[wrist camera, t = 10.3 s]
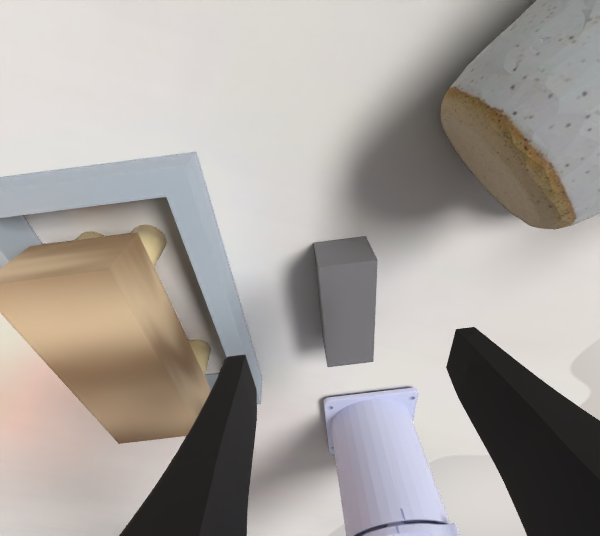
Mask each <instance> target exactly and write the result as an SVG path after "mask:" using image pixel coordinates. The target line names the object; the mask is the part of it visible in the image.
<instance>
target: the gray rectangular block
mask: <svg viewBox="0 0 600 536" xmlns="http://www.w3.org/2000/svg"><path fill="white" fill-rule="evenodd" d="M314 250H315V261H316V271H317V281H318V291H319V302H320V312H321V322H322V333H323V341H324V348H325V354H326V360H327V367H333V366H342V365H350V364H359V363H367V362H373V355H374V330H375V306H376V281H377V258H376V256H375V254H374V252H373V250H372V248H371V246H370V244H369V242H368V240H367V238H366V236H365V237H357V238H349V239H341V240H333V241H325V242H317V243H314Z"/></svg>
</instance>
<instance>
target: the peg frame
mask: <svg viewBox="0 0 600 536" xmlns="http://www.w3.org/2000/svg"><path fill="white" fill-rule="evenodd" d="M161 197H166V198H167V200H168V203H169V206H170V208H171V211H172V214H173V216H174V219H175V222H176V224H177V227H178V230H179V232H180V235H181V238H182V240H183V243H184V246H185V248H186V251H187V253H188V256H189V259H190V261H191V264H192V267H193V269H194V272H195V275H196V277H197V280H198V283H199V285H200V288H201V291H202V293H203V296H204V299H205V301H206V304H207V307H208V309H209V312H210V315H211V317H212V320H213V323H214V325H215V328H216V331H217V333H218V336H219V339H220V341H221V344H222V347H223V349H224V352H225V355H226V357H228V356H236V355H246V358H247V361H248V364H249V367H250V370H251V373H252V377H253V380H254V383H255V386H256V389H257V404H261V392H262V376H261V372H260V369H259V365H258V362H257V359H256V355H255V352H254V348H253V345H252V341H251V338H250V335H249V331H248V328H247V324H246V321H245V317H244V314H243V311H242V307H241V304H240V300H239V297H238V293H237V290H236V287H235V283H234V280H233V276H232V273H231V269H230V266H229V263H228V259H227V256H226V252H225V249H224V245H223V242H222V239H221V235H220V232H219V228H218V225H217V221H216V218H215V215H214V211H213V208H212V204H211V201H210V197H209V194H208V191H207V187H206V184H205V180H204V177H203V173H202V170H201V167H200V163H199V160H198V156H197V153H196V152H192V153H184V154H177V155H169V156H161V157H154V158H146V159H138V160H130V161H123V162H115V163H107V164H100V165H92V166H84V167H76V168H69V169H61V170H53V171H46V172H38V173H30V174H22V175H15V176H7V177H0V268H2V267H3V266H4V265H6V264H7V263H8V262H10V261H11V260H12V259H14V258H15V257H16V256H17V255H19V254H20V253H21V252H23V251H24V250H25V249H27V248H28V247H29V246H35V245H42V243H41V242H40V240H39V239H38V237H37V236H36V234H35V233H34V231H33V230H32V228H31V227H30V226H29V224H28V223H27V221H26V220H25V218H24V217H23V215H28V214H35V213H43V212H51V211H59V210H67V209H75V208H82V207H90V206H98V205H106V204H114V203H122V202H129V201H137V200H145V199H153V198H161ZM136 232H138V234H139V236H140V238H141V240H142V243H143V245H144V247H145V249H146V251H147V253H148V255H149V258H150V260H151V262H152V264H153V266H154V265H155V264H156V262H157V260H158V259H159V257H160V255H161V253H162V252H163V250H164V248H165V247H166V238H165V236H164V234H163V233H162V232H161V231H160V230H159V229H157V228H156V227H153V226H150V225H140V226H138V227H136V228H135V229H134V230H133V231H132V232H131V233H136ZM97 237H104V236H103V235H101V234H99V233H95V232H85V233H82V234H81V235H80V236H79V237H78V238H76V239H75V240H82V239H89V238H97ZM189 344H190V346H191V348H192V350H193V352H194V354H195V356H196V359H197V361H198V363H199V365H200V367H201V369H202V371H203V374H204V376H205V378H206V380H207V382H208V384H209V386H210V389H211V390H212V388H213V386H214V383H215V381H216V379H217V377H218V375H219V373H218V374H209V375H205V373H206V368H207V364H208V360H209V355H210V351H211V348H210V346H209V345H208V344H207V343H206V342H204V341H201V340H192V341H189ZM211 390H210V392H211Z"/></svg>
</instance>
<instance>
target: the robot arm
mask: <svg viewBox="0 0 600 536" xmlns="http://www.w3.org/2000/svg"><path fill="white" fill-rule="evenodd" d="M446 368H447V371H448V373H449V376H450V378H451V381H452V384H453V386H454V388H455V391H456V393H457V395H458V398H459V400H460V401H461V403H462V405H463V407H464V409H465V411H466V413H467V414H468V416H469V418H470V420H471V422H472V424H473V425H474V427H475V429H476V431H477V433H478V434H479V436H480V438H481V440H482V442H483V443H484V445H485V447H486V449H487V451H488V453H489V454H490V456H491V458H492V460H493V462H494V463H495V465H496V467H497V469H498V471H499V473H500V475H501V477H502V479H503V481H504V483H505V485H506V488H507V490H508V492H509V495H510V497H511V499H512V501H513V503H514V505H515V508H516V510H517V512H518V515H519V517H520V519H521V522H522V524H523V526H524V529H525V531H526V534H527V536H600V421H599V420H598V419H596V418H595V417H593V416H592V415H590V414H589V413H587V412H586V411H584V410H583V409H581V408H580V407H578V406H577V405H576V404H574V403H573V402H571V401H570V400H568V399H567V398H566V397H564V396H563V395H561V394H560V393H558V392H557V391H556V390H554V389H553V388H552V387H550V386H549V385H548V384H546V383H545V382H543V381H542V380H541V379H539V378H538V377H537V376H536V375H534V374H533V373H532V372H530V371H529V370H528V369H526V368H525V367H524V366H522V365H521V364H520V363H519V362H517V361H516V360H515V359H514V358H512V357H511V356H510V355H509V354H507V353H506V352H505V351H503V350H502V349H501V348H500V347H499V346H497V345H496V344H495V343H494V342H492V341H491V340H490V339H489V338H487V337H486V336H485V335H484V334H482V333H481V332H480V331H479V330H477V329H476V328H475V327H471V328H462V329H456V332H455V335H454V339H453V343H452V347H451V351H450V355H449V359H448V363H447V367H446ZM417 398H418V391H417V389H416V388H404V389H395V390H387V391H378V392H370V393H361V394H353V395H344V396H336V397H328V398H325V399H324V401H323V402H324V411H325V420H326V428H327V437H328V446H329V453H330V454H332V455H335V460H336V467H337V474H338V481H339V488H340V495H341V502H342V509H343V516H344V523H345V530H346V536H460V534H459V531H458V529H457V526H456V524H455V523H453V524H450V521H449V518H448V515H447V513H446V510H445V507H444V505H443V502H442V499H441V496H440V494H439V492H438V488H437V486H436V483H435V480H434V478H433V475H432V472H431V469H430V467H429V464H428V461H427V458H426V456H425V453H424V450H423V448H422V445H421V442H420V439H419V437H418V434H417V431H416V429H415V426H414V423H413V419H414V414H415V409H416V403H417ZM256 421H257V389H256V386H255V383H254V380H253V377H252V373H251V370H250V367H249V364H248V361H247V358H246V355H236V356H228V357H227V358H226V359H225V361H224V364H223V366H222V368H221V370H220V373H219V375H218V377H217V379H216V381H215V383H214V386H213V388H212V390H211V392H210V394H209V396H208V398H207V400H206V402H205V403H204V405H203V407H202V409H201V411H200V413H199V415H198V417H197V419H196V421H195V422H194V424H193V426H192V428H191V429H190V431H189V433H188V434H187V436H186V438H185V440H184V441H183V443H182V445H181V446H180V448H179V450H178V452H177V453H176V455H175V456H174V458H173V460H172V461H171V463H170V464H169V466H168V467H167V469H166V471H165V472H164V474H163V475H162V477H161V478H160V480H159V481H158V483H157V484H156V486H155V487H154V489H153V490H152V491H151V493H150V494H149V496H148V497H147V498H146V500H145V501H144V503H143V504H142V505H141V507H140V508H139V510H138V511H137V512H136V514H135V515H134V517H133V518H132V519H131V521H130V522H129V523H128V525H127V526H126V527H125V529H124V530H123V531H122V533H121V534H120V535H119V536H247V507H248V494H249V485H250V476H251V467H252V458H253V449H254V440H255V431H256Z"/></svg>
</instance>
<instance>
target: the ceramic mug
mask: <svg viewBox="0 0 600 536" xmlns="http://www.w3.org/2000/svg"><path fill="white" fill-rule="evenodd" d="M441 123H442V126H443V129H444V131H445V133H446V135H447V137H448V139H449V140H450V142H451V144H452V145H453V147H454V149H455V150H456V152H457V153H458V155H459V156H460V158H461V159H462V160H463V161H464V163H465V164H466V165H467V167H468V168H469V169H470V171H471V172H472V173H473V174H474V176H475V177H476V178H477V179H478V180H479V181H480V183H481V184H482V185H483V186H484V187H485V188H486V189H487V190H488V191H489V193H490V194H491V195H492V196H493V197H494V198H495V199H496V200H497V201H498V202H500V203H501V204H502V205H503V206H504V207H505V208H506V209H507V210H508V211H509V212H511V213H512V214H513V215H515V216H516V217H518V218H519V219H521V220H522V221H524V222H525V223H527V224H528V225H530V226H533V227H537V228H543V229H559V228H563V227H567V226H571V225H574V224H576V223H578V222H581V221H583V220H585V219H587V218H590V217H592V216H594V215H597V214H599V213H600V0H536V1H535V2H534V3H533V4H532V5H531V6H530V7H529V8H528V9H527V10H526V11H525V12H524V13H523V14H522V15H521V16H520V17H519V18H517V19H516V20H515V21H514V22H513V23H512V24H511V25H510V26H509V27H508V28H507V29H505V30H504V31H503V32H502V33H501V34H500V35H499V36H498V37H497V38H496V39H494V40H493V41H492V42H491V43H490V44H489V45H488V46H487V47H486V48H485V49H484V50H483V51H482V52H481V53H480V54H479V55H478V56H477V57H476V58H475V59H474V60H473V61H472V62H471V63H470V64H469V65H468V66H467V67H466V68H465V69H464V71H463V72H462V73H461V75H460V76H459V77H458V78H457V80H456V81H455V82H454V83H453V84H452V86H451V87H450V88H449V89H448V91H447V92H446V94H445V96H444V98H443V100H442V103H441Z"/></svg>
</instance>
